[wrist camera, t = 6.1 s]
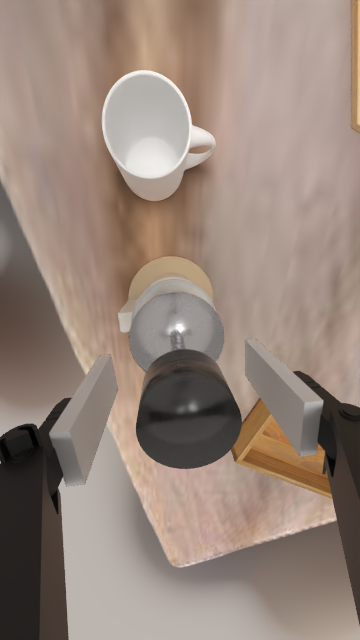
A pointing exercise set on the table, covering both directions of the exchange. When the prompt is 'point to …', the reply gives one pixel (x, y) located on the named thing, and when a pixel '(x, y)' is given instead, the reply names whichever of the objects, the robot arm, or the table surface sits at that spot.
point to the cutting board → (355, 65)
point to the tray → (277, 453)
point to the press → (164, 285)
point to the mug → (151, 134)
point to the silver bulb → (182, 382)
